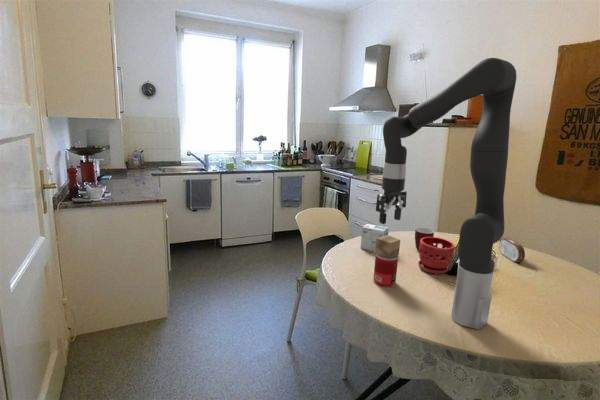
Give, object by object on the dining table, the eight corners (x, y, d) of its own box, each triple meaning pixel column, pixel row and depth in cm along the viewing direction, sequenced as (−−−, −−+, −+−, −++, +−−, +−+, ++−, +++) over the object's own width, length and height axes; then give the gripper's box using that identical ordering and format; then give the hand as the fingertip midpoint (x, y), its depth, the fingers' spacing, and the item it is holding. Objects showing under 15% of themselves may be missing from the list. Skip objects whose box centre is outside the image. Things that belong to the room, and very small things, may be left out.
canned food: (395, 288, 127) (399, 259, 125) (373, 285, 129) (375, 257, 126) (394, 279, 135) (397, 251, 132) (373, 276, 136) (375, 249, 133)
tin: (523, 265, 152) (527, 246, 150) (516, 265, 152) (520, 246, 150) (503, 252, 167) (506, 235, 165) (496, 252, 167) (499, 234, 165)
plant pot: (418, 274, 140) (421, 245, 137) (415, 261, 152) (418, 234, 149) (453, 278, 137) (457, 249, 134) (448, 265, 149) (452, 238, 146)
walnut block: (398, 255, 129) (400, 239, 127) (388, 259, 125) (390, 243, 124) (385, 250, 133) (386, 235, 132) (375, 253, 129) (376, 238, 128)
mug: (407, 246, 170) (410, 226, 167) (423, 246, 171) (426, 226, 168) (417, 254, 159) (420, 233, 157) (434, 254, 160) (437, 233, 158)
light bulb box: (387, 249, 165) (389, 227, 162) (382, 254, 159) (384, 231, 156) (365, 244, 170) (367, 223, 168) (359, 248, 164) (361, 226, 162)
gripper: (390, 179, 115) (386, 227, 119) (415, 176, 124) (410, 220, 128) (372, 176, 121) (368, 222, 124) (397, 173, 130) (393, 216, 133)
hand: (390, 221), depth 126 cm, fingers open, 8 cm apart
